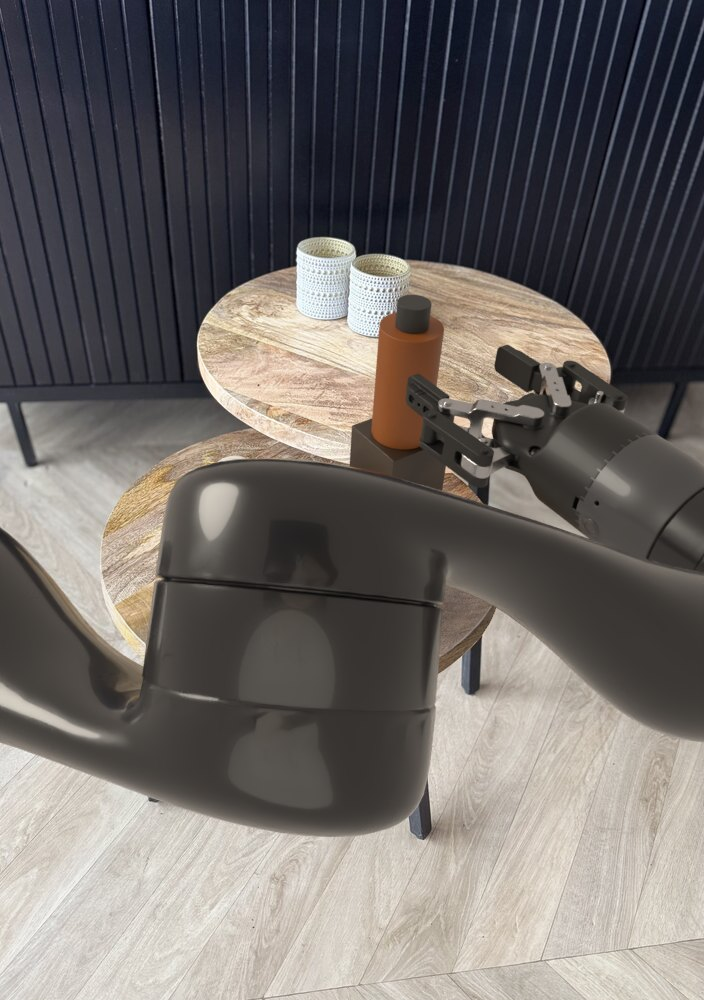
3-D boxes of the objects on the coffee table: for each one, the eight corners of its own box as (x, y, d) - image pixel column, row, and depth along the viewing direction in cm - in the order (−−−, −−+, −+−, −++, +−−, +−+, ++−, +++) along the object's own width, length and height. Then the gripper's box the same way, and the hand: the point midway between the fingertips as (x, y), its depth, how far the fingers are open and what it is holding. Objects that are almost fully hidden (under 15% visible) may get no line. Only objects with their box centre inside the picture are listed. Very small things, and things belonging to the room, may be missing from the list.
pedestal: (375, 639, 79) (393, 461, 65) (341, 601, 83) (351, 425, 69) (423, 615, 82) (450, 439, 68) (388, 579, 86) (407, 405, 72)
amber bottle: (393, 456, 66) (407, 323, 58) (359, 426, 69) (368, 295, 61) (441, 439, 68) (461, 308, 60) (406, 410, 71) (420, 282, 63)
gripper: (718, 406, 50) (535, 302, 60) (558, 479, 44) (382, 349, 54) (680, 498, 55) (516, 388, 65) (531, 576, 49) (374, 440, 59)
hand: (456, 370), depth 59 cm, fingers open, 8 cm apart
